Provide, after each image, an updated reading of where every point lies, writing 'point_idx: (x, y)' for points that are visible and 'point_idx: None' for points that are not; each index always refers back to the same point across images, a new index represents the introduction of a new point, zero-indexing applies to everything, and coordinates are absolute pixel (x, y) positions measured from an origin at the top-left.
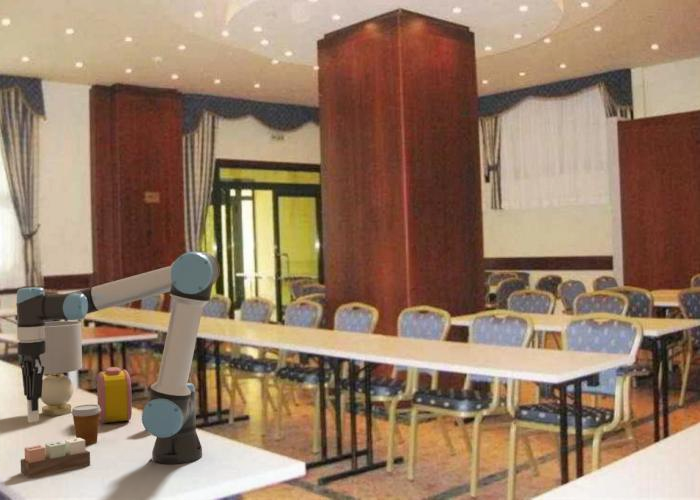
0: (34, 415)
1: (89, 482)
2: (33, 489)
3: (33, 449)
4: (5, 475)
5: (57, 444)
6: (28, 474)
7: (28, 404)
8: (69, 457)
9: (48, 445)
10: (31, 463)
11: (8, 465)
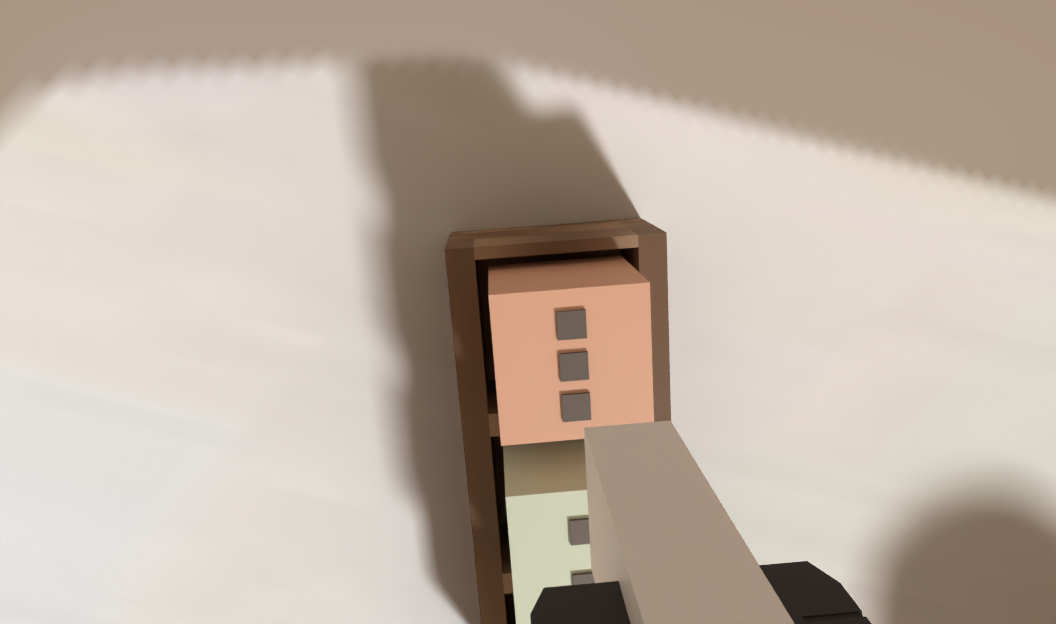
0: (604, 563)
1: (64, 539)
2: (123, 180)
3: (512, 338)
4: (661, 102)
5: (545, 567)
6: (466, 235)
7: (699, 622)
8: (477, 573)
9: (568, 493)
10: (457, 275)
11: (931, 194)
